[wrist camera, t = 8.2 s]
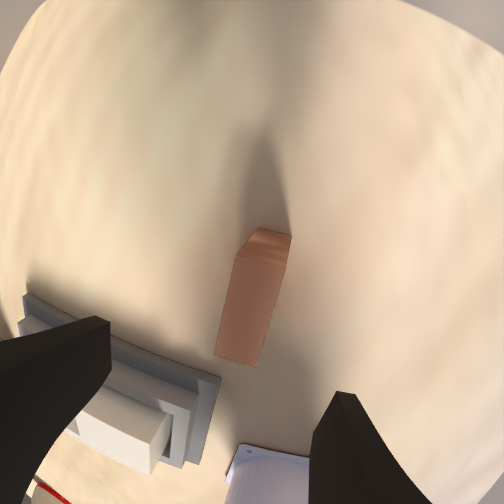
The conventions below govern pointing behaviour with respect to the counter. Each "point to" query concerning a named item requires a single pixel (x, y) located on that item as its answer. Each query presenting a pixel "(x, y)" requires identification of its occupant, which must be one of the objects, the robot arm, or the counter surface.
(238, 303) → the terracotta flat slab
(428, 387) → the counter surface
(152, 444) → the white hollow block
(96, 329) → the robot arm
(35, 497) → the kitchen timer
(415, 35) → the counter surface
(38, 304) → the cradle
